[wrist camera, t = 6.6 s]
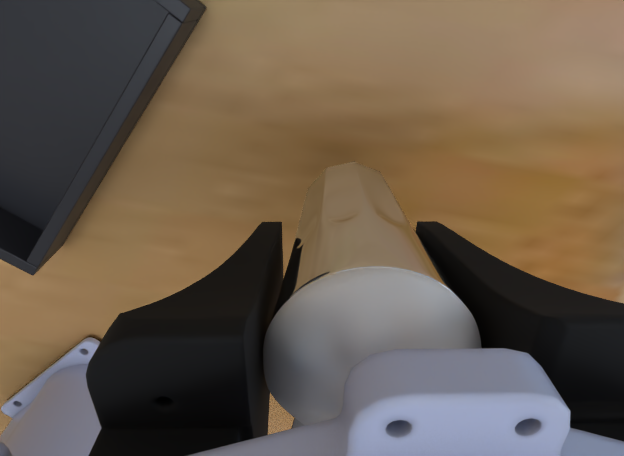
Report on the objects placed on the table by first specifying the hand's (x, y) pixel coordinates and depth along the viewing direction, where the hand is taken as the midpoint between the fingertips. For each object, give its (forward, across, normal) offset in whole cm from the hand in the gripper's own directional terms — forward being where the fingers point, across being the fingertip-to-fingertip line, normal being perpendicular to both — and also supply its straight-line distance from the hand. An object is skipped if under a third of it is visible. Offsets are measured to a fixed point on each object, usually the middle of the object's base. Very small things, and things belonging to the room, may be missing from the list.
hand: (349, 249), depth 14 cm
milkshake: (+3, 0, 0) cm, 3 cm away
